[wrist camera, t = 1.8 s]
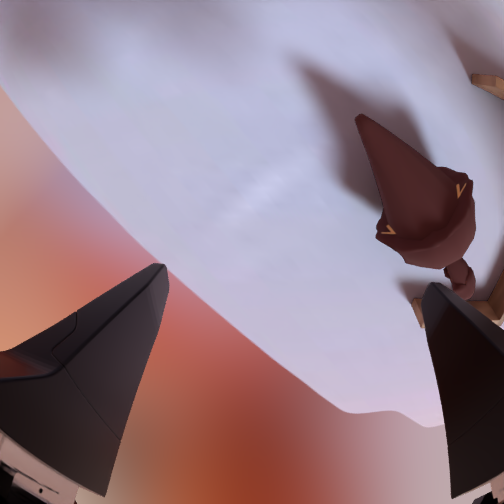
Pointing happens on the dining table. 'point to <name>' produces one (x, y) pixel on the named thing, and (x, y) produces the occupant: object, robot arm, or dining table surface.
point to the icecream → (421, 206)
